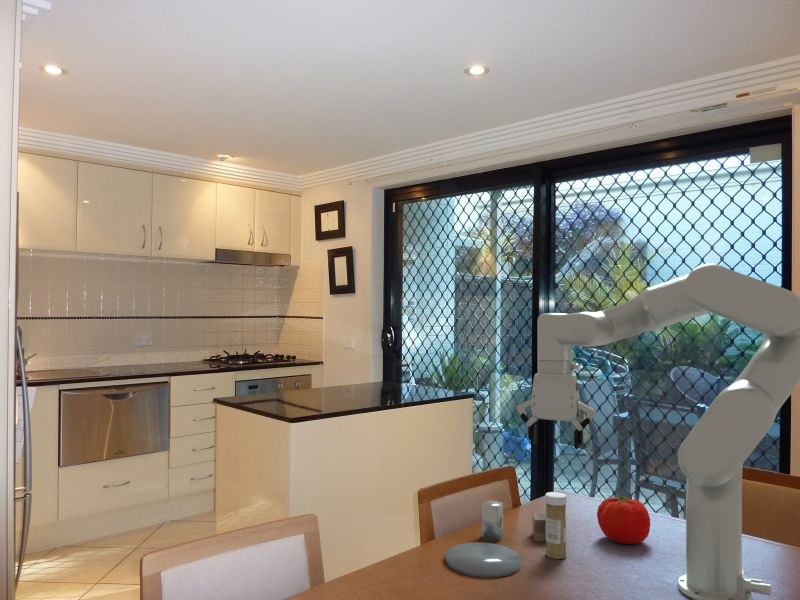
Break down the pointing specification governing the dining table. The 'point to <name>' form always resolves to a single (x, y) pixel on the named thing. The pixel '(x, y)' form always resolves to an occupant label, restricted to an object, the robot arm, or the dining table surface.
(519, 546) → the dining table surface
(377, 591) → the dining table surface
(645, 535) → the tomato
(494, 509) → the metal tin
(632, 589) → the dining table surface
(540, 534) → the walnut block
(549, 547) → the sprinkles bottle
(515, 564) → the grey plate
